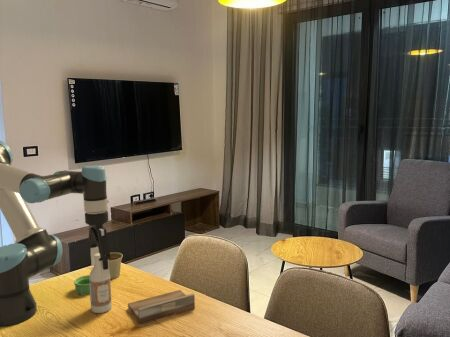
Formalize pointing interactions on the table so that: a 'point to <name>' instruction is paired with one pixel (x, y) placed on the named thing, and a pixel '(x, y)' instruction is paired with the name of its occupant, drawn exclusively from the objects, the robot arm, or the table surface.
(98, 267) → the bath foam
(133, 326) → the table surface
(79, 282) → the ramekin
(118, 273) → the flower pot
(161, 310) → the brown piece
